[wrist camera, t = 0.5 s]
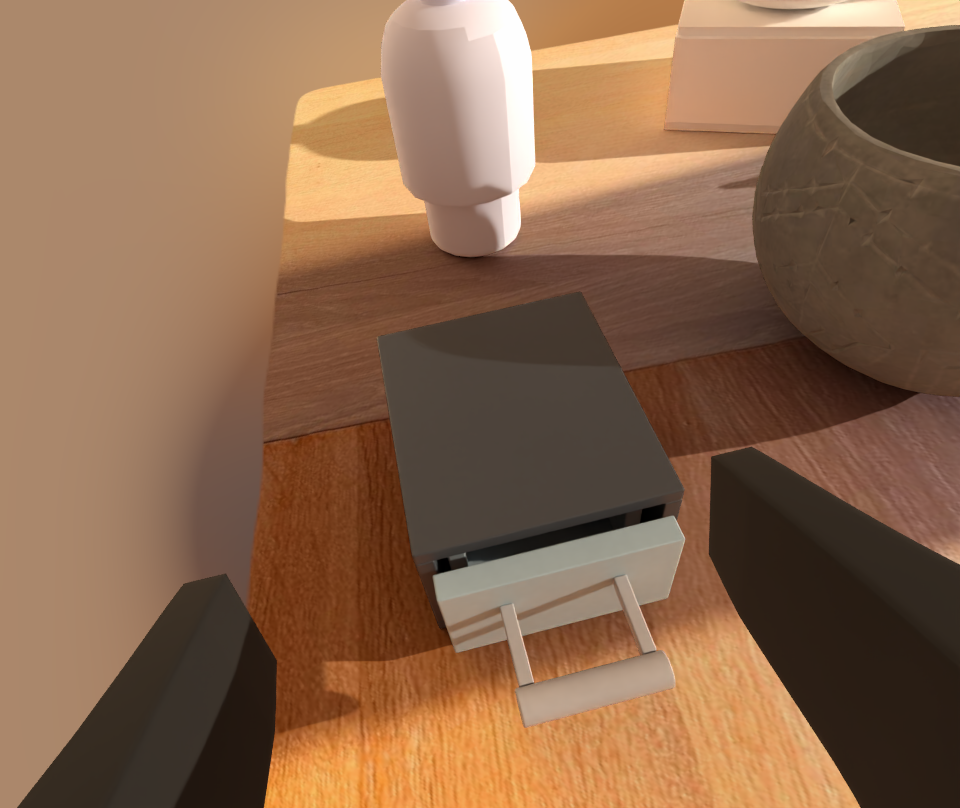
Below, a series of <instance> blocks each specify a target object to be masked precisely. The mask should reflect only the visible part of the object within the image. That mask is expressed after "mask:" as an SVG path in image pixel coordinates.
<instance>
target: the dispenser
mask: <svg viewBox="0 0 960 808" xmlns="http://www.w3.org/2000/svg"><path fill="white" fill-rule="evenodd" d="M377 343H378V349H379V356H380V362H381V368H382V374H383V380H384V386H385V393H386V399H387V405H388V411H389V417H390V423H391V430H392V436H393V442H394V448H395V454H396V460H397V467H398V473H399V479H400V485H401V491H402V497H403V504H404V510H405V516H406V522H407V528H408V535H409V541H410V547H411V553H412V557H413V560H414V563H415V565H416V568H417V571H418V573H419V576H420V578H421V581H422V584H423V586H424V589H425V591H426V594H427V597H428V599H429V602H430V604H431V607H432V610H433V612H434V615H435V618H436V620H437V623H438V626H439V628H440V629H441V628H445V627H446V625H445V622H444V619H443V616H442V614H441V611H440V608H439V605H438V603H437V599H436V593H435V588H434V582H433V575H436V574H440V573H444V572H448V571H451V567H450V564H449V561H448V557H451V556H455V555H459V554H463V553H467V552H471V551H475V550H479V549H483V548H487V547H491V546H495V545H499V544H503V543H507V542H511V541H515V540H519V539H523V538H527V537H531V536H535V535H539V534H543V533H548V532H552V531H556V530H560V529H564V528H568V527H572V526H576V525H580V524H584V523H588V522H592V521H596V520H600V519H604V518H608V517H612V516H616V515H620V514H624V513H628V512H632V511H636V510H640V509H642V514H641V519H640V523H644V522H649V521H653V520H657V519H661V518H665V517H669V516H674V517H675V519H676V521H677V517H678V513H679V510H680V506H681V502H682V497H683V494H684V487H683V485H682V484H681V482H680V480H679V478H678V476H677V474H676V472H675V470H674V468H673V466H672V464H671V463H670V461H669V459H668V457H667V455H666V453H665V451H664V449H663V447H662V445H661V443H660V442H659V440H658V438H657V436H656V434H655V432H654V430H653V428H652V426H651V424H650V422H649V421H648V419H647V417H646V415H645V413H644V411H643V409H642V407H641V405H640V403H639V401H638V400H637V398H636V396H635V394H634V392H633V390H632V388H631V386H630V384H629V382H628V380H627V379H626V377H625V375H624V373H623V371H622V369H621V367H620V365H619V363H618V361H617V359H616V357H615V356H614V354H613V352H612V350H611V348H610V346H609V344H608V342H607V340H606V338H605V336H604V335H603V333H602V331H601V329H600V327H599V325H598V323H597V321H596V319H595V317H594V315H593V314H592V312H591V310H590V308H589V306H588V304H587V302H586V300H585V298H584V296H583V294H582V293H581V292H576V293H572V294H567V295H563V296H558V297H554V298H549V299H545V300H540V301H536V302H531V303H526V304H522V305H517V306H513V307H508V308H504V309H499V310H495V311H490V312H486V313H481V314H477V315H472V316H468V317H463V318H459V319H454V320H450V321H445V322H441V323H436V324H432V325H427V326H423V327H418V328H414V329H409V330H405V331H400V332H396V333H391V334H387V335H382V336H378V337H377Z"/></svg>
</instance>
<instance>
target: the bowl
mask: <svg viewBox="0 0 960 808" xmlns="http://www.w3.org/2000/svg"><path fill="white" fill-rule="evenodd" d="M752 220H753V235H754V245H755V250H756V257H757V260H758V263H759V266H760V269H761V272H762V275H763V278H764V280H765V282H766V284H767V287H768V289H769V291H770V292H771V294H772V296H773V298H774V299H775V301H776V303H777V305H778V306H779V308H780V309H781V311H782V312H783V313H784V314H785V316H786V317H787V318H788V319H789V321H790V322H791V323H792V324H793V325H794V326H795V327H796V328H797V329H798V330H799V331H800V332H801V333H802V334H803V335H804V336H806V337H807V338H808V339H809V340H810V341H812V342H813V343H814V344H815V345H816V346H818V347H819V348H820V349H822V350H823V351H825V352H826V353H827V354H829V355H830V356H832V357H833V358H835V359H836V360H838V361H839V362H841V363H843V364H844V365H846V366H848V367H850V368H852V369H854V370H856V371H858V372H860V373H863V374H865V375H867V376H869V377H871V378H873V379H875V380H878V381H880V382H882V383H885V384H888V385H892V386H895V387H899V388H902V389H906V390H910V391H915V392H920V393H925V394H932V395H939V396H953V397H960V25H951V26H940V27H930V28H922V29H914V30H907V31H901V32H896V33H891V34H887V35H882V36H879V37H876V38H874V39H871V40H868V41H866V42H863V43H861V44H859V45H856V46H854V47H852V48H850V49H848V50H847V51H845V52H844V53H842V54H840V55H839V56H837V57H836V58H835V59H834V60H833V61H832V62H830V63H829V64H828V65H827V66H826V67H825V68H823V69H822V70H821V71H820V72H819V73H818V75H817V76H816V77H815V78H814V80H813V81H812V82H811V83H810V84H809V86H808V87H807V88H806V89H805V91H804V92H803V94H802V95H801V96H800V98H799V99H798V101H797V102H796V103H795V105H794V106H793V108H792V109H791V110H790V112H789V114H788V116H787V117H786V119H785V120H784V122H783V123H782V125H781V127H780V128H779V130H778V132H777V134H776V136H775V138H774V140H773V142H772V144H771V146H770V148H769V150H768V152H767V155H766V158H765V161H764V164H763V166H762V169H761V172H760V175H759V178H758V182H757V185H756V191H755V197H754V206H753V216H752Z"/></svg>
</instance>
